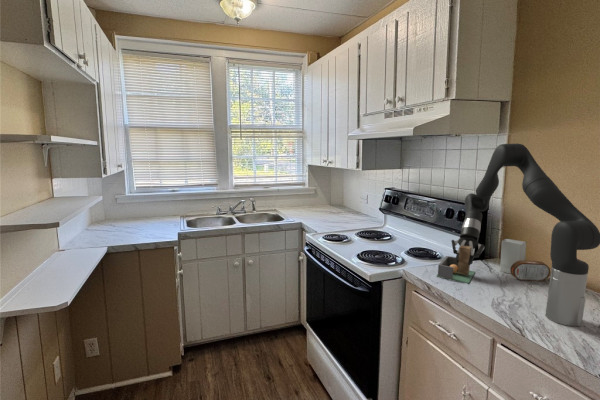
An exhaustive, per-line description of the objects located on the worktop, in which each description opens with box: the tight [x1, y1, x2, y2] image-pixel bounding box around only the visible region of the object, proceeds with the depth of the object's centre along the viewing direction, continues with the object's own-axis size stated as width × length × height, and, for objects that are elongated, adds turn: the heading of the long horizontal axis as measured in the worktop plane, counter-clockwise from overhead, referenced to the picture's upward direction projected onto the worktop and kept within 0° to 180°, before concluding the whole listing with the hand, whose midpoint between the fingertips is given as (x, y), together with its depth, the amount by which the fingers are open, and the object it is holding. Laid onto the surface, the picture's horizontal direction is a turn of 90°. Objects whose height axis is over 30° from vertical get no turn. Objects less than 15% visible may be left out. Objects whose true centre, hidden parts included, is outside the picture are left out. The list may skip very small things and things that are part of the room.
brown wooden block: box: [458, 245, 471, 275], centre depth 147 cm, size 4×4×12 cm
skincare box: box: [499, 238, 527, 275], centre depth 151 cm, size 8×6×15 cm
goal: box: [435, 255, 476, 284], centre depth 149 cm, size 13×16×5 cm
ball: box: [449, 264, 458, 273], centre depth 150 cm, size 4×4×4 cm
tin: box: [510, 260, 551, 282], centre depth 143 cm, size 15×3×8 cm, turn 84°
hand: (463, 262), depth 145 cm, fingers closed on brown wooden block, 4 cm apart
